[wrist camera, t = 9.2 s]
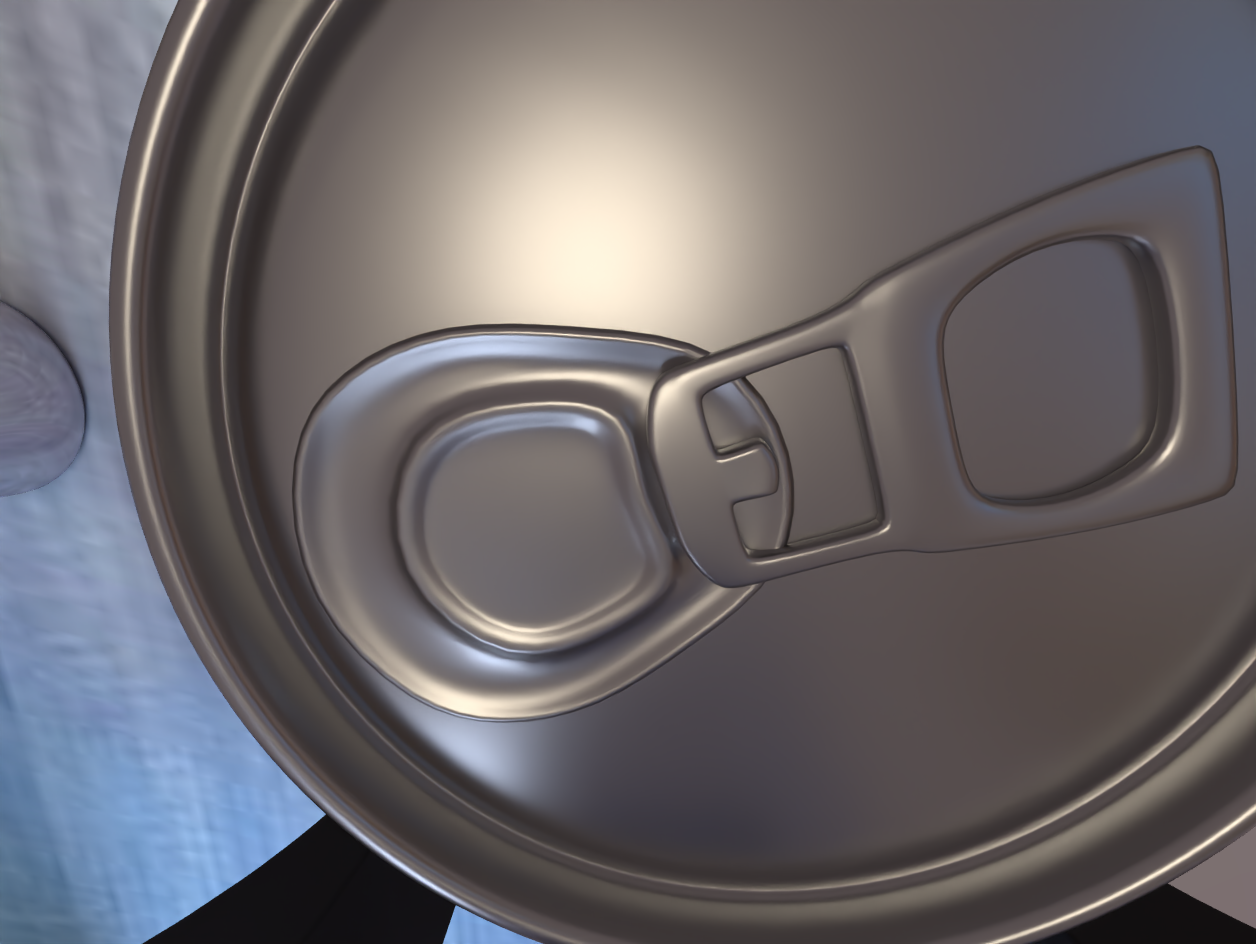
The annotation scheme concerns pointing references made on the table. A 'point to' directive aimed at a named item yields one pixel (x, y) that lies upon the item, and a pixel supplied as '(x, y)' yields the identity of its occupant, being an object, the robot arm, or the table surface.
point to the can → (714, 445)
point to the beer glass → (35, 407)
